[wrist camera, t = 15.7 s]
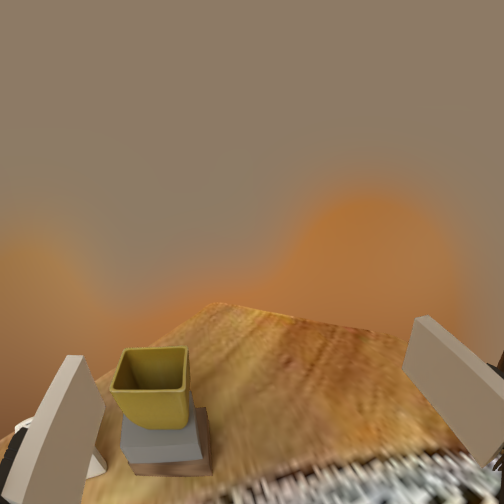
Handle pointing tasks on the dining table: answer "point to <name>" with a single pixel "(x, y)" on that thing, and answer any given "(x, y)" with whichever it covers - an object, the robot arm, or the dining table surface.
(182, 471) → the walnut base slab
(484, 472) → the dining table surface
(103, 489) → the dining table surface
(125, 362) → the flower pot
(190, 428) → the grey top slab
